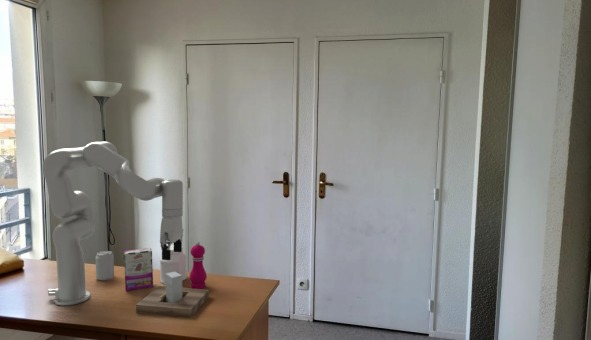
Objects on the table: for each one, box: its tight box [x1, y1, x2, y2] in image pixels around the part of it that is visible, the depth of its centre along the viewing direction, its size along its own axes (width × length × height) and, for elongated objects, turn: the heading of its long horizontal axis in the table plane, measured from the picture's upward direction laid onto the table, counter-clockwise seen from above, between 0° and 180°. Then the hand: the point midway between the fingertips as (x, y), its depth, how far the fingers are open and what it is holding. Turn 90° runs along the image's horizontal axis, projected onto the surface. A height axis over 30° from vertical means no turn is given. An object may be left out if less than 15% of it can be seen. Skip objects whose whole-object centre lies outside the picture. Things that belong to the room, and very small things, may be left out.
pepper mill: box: [189, 241, 208, 289], centre depth 174 cm, size 7×7×20 cm
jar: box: [159, 244, 188, 285], centre depth 181 cm, size 12×10×15 cm
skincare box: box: [165, 272, 183, 303], centre depth 157 cm, size 6×4×12 cm
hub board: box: [135, 285, 210, 318], centre depth 157 cm, size 18×22×3 cm
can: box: [94, 250, 115, 282], centre depth 182 cm, size 8×8×12 cm
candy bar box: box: [123, 247, 154, 292], centre depth 172 cm, size 11×5×16 cm, turn 114°
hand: (172, 255), depth 155 cm, fingers open, 9 cm apart
